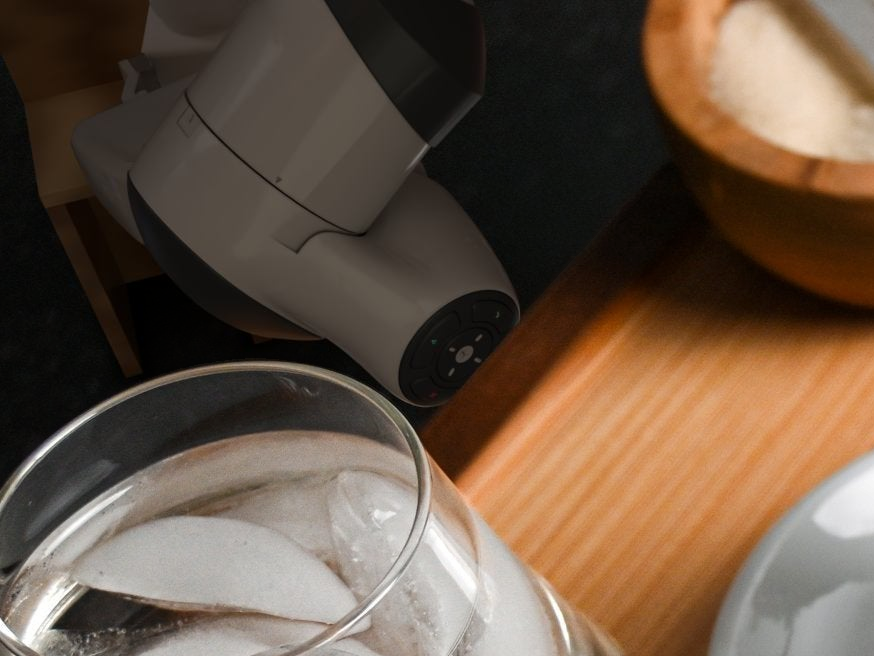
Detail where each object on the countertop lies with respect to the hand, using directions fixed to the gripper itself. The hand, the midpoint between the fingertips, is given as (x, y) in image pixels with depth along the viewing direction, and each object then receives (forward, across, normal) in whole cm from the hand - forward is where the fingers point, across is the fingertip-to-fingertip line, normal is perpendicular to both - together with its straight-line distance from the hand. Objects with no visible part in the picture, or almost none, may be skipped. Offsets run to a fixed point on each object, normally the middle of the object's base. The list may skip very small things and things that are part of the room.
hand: (212, 35), depth 105 cm
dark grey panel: (+1, -1, +7) cm, 7 cm away
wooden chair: (+13, +5, +28) cm, 31 cm away
